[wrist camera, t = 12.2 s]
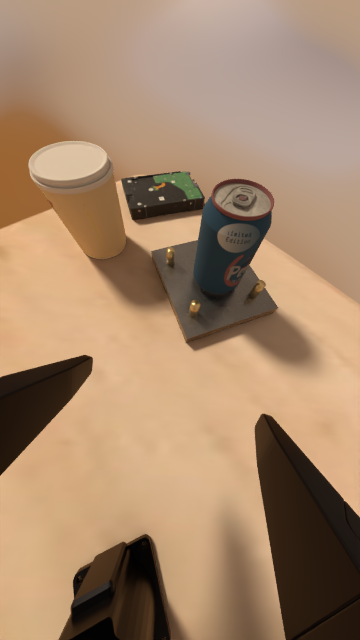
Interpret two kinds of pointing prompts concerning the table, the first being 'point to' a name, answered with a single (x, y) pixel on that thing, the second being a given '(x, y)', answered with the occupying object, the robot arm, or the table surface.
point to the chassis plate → (207, 295)
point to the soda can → (231, 233)
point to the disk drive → (162, 194)
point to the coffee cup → (82, 194)
